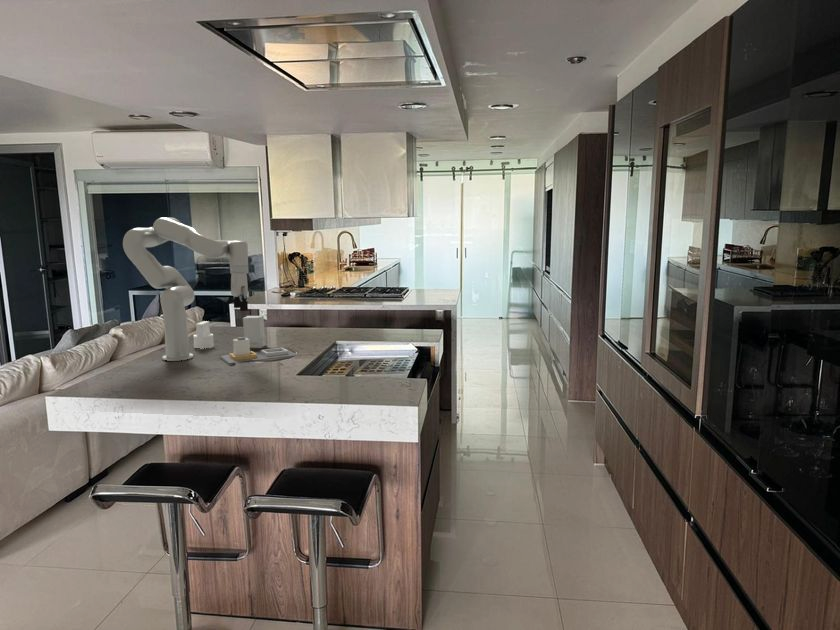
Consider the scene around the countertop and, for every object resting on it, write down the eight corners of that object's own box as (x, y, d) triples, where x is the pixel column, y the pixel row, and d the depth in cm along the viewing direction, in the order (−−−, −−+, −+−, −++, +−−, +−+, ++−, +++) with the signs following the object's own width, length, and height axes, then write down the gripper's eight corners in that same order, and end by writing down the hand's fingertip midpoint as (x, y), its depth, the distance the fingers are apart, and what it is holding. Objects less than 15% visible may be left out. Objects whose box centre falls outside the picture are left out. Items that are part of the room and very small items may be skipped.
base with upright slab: (209, 349, 272) (208, 324, 270) (190, 349, 272) (189, 324, 270) (216, 345, 281) (215, 321, 279) (198, 345, 281) (197, 321, 279)
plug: (233, 357, 251) (232, 337, 249) (247, 355, 254) (246, 336, 253) (236, 359, 247) (235, 339, 246) (250, 357, 251) (249, 337, 249)
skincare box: (265, 347, 277) (264, 315, 274) (260, 350, 270) (259, 317, 268) (249, 346, 277) (247, 315, 275) (243, 349, 271) (242, 317, 268)
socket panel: (220, 358, 254) (220, 352, 253) (285, 350, 270) (285, 345, 269) (229, 365, 240) (229, 359, 240) (297, 357, 256) (297, 351, 256)
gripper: (225, 268, 250) (226, 307, 253) (235, 271, 236) (237, 312, 239) (242, 268, 254) (243, 306, 257) (253, 270, 240) (255, 311, 243)
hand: (240, 309), depth 248 cm, fingers open, 9 cm apart
